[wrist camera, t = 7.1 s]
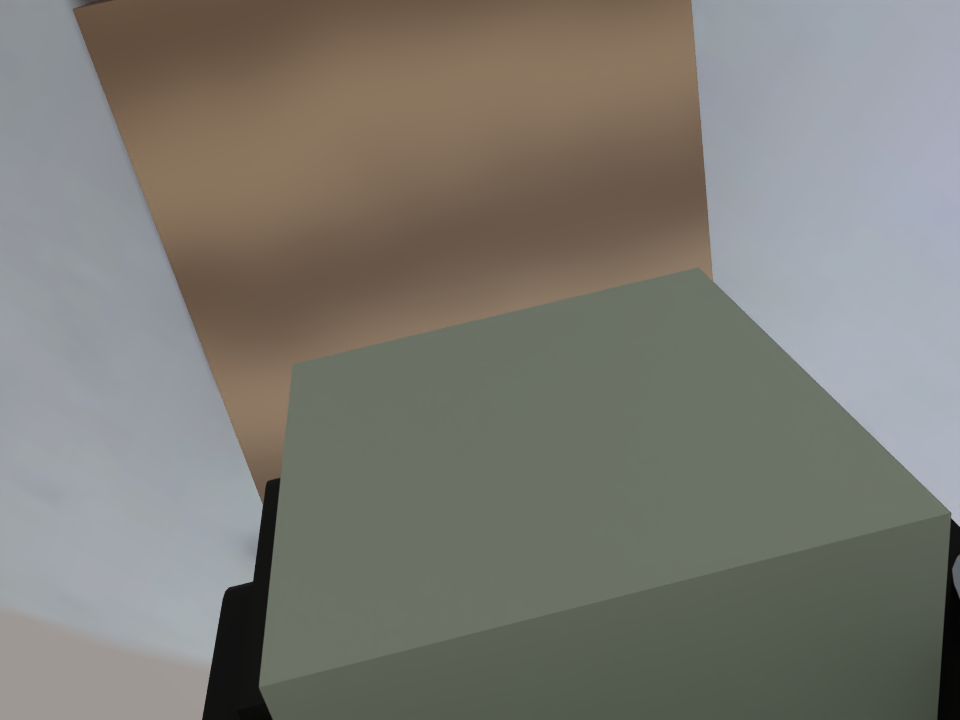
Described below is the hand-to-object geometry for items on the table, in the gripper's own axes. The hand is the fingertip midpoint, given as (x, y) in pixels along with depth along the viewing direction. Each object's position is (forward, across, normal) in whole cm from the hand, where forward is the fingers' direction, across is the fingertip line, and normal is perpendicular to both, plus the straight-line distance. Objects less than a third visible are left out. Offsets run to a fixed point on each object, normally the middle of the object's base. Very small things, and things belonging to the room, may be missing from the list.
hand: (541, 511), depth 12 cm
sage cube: (+1, 0, 0) cm, 1 cm away
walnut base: (+15, 0, 0) cm, 15 cm away
